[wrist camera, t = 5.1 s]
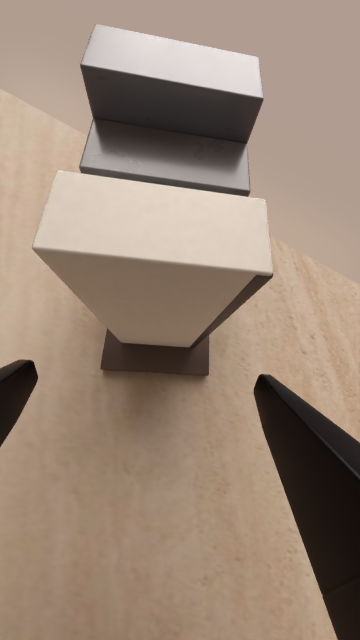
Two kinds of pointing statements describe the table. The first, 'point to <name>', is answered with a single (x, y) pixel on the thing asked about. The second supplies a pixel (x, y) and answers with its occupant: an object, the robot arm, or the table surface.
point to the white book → (154, 254)
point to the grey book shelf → (167, 139)
